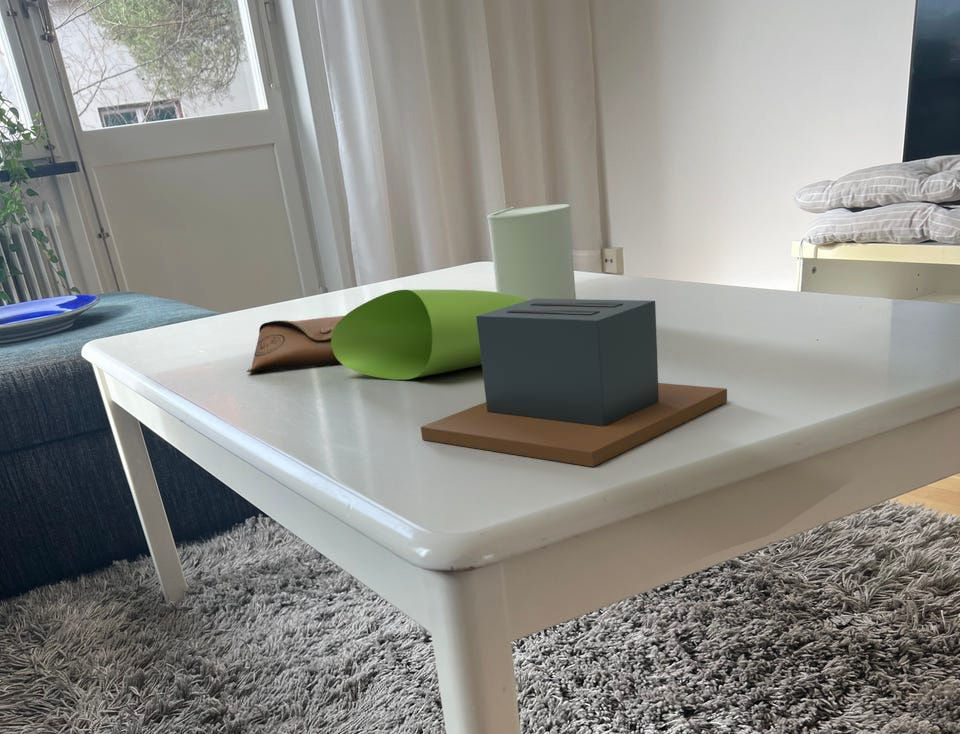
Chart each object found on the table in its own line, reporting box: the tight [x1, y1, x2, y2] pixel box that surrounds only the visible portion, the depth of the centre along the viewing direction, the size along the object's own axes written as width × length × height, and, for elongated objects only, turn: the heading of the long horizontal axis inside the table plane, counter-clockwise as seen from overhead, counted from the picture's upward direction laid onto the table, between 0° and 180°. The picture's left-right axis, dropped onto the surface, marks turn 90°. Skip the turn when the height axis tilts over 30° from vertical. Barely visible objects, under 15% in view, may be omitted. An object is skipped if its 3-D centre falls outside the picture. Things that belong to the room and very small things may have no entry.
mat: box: [420, 382, 728, 468], centre depth 72 cm, size 16×16×1 cm
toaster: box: [476, 298, 659, 426], centre depth 70 cm, size 12×6×7 cm, turn 47°
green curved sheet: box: [331, 288, 528, 381], centre depth 91 cm, size 8×12×20 cm
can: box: [486, 203, 577, 300], centre depth 109 cm, size 9×9×12 cm
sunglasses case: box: [246, 315, 345, 373], centre depth 104 cm, size 18×7×7 cm
